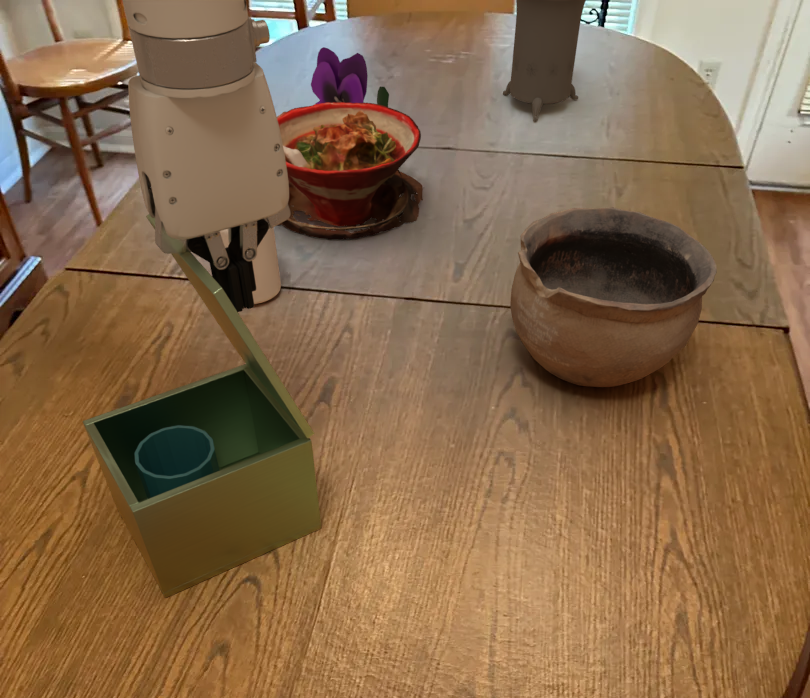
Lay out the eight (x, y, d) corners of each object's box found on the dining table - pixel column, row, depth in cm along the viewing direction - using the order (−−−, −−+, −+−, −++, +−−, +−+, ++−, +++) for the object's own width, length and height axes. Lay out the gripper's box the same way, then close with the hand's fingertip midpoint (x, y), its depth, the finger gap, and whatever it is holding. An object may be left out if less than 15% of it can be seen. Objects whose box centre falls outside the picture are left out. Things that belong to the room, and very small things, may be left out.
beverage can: (210, 290, 108) (193, 205, 99) (259, 270, 112) (247, 186, 103) (243, 315, 104) (229, 229, 95) (293, 293, 108) (283, 208, 99)
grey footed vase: (574, 125, 146) (599, -38, 127) (495, 119, 148) (508, -42, 129) (579, 88, 158) (602, -66, 139) (505, 83, 160) (519, -70, 141)
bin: (165, 598, 73) (132, 512, 64) (117, 509, 81) (82, 420, 72) (321, 528, 79) (311, 440, 70) (263, 451, 87) (247, 362, 78)
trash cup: (179, 559, 75) (156, 489, 68) (146, 516, 79) (121, 446, 72) (244, 525, 78) (228, 455, 71) (209, 486, 82) (190, 415, 75)
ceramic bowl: (474, 331, 102) (483, 220, 91) (619, 299, 107) (645, 189, 96) (556, 437, 88) (578, 322, 77) (717, 394, 94) (761, 280, 82)
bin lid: (212, 294, 56) (222, 287, 56) (145, 215, 63) (153, 210, 63) (307, 439, 70) (314, 433, 70) (243, 361, 78) (250, 356, 78)
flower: (344, 146, 151) (291, 128, 141) (369, 61, 145) (315, 36, 135) (394, 171, 144) (342, 154, 134) (423, 82, 137) (371, 58, 127)
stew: (238, 252, 115) (219, 138, 103) (253, 179, 131) (238, 72, 119) (429, 249, 116) (432, 136, 104) (421, 177, 131) (423, 70, 119)
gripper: (272, 19, 56) (297, 258, 70) (63, 57, 51) (135, 307, 64) (322, 49, 52) (338, 297, 66) (100, 94, 46) (168, 353, 60)
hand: (237, 301), depth 65 cm, fingers closed
